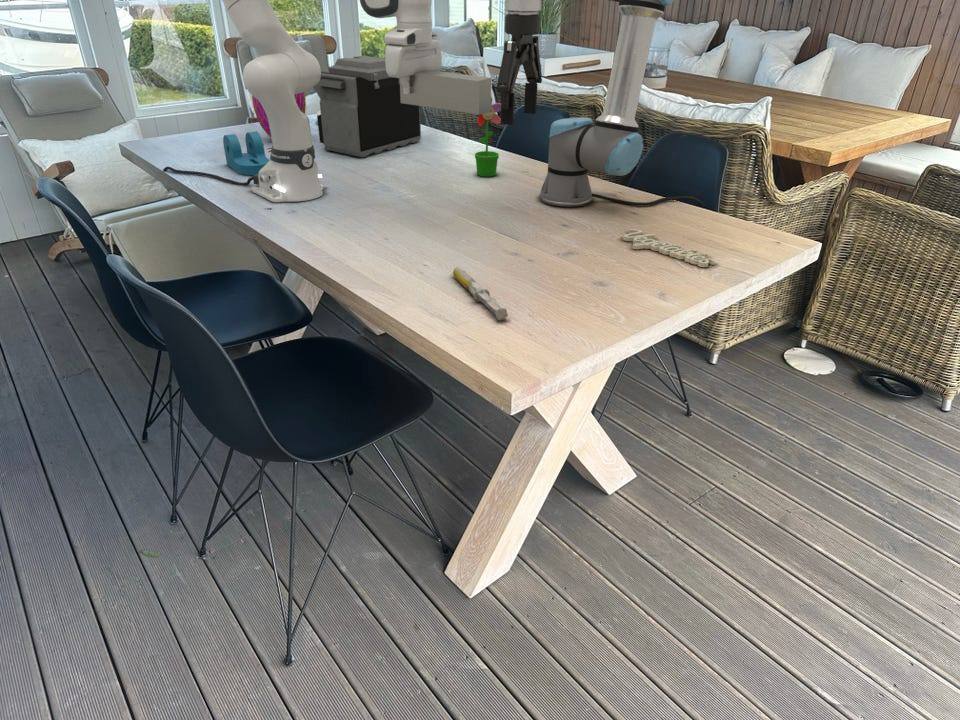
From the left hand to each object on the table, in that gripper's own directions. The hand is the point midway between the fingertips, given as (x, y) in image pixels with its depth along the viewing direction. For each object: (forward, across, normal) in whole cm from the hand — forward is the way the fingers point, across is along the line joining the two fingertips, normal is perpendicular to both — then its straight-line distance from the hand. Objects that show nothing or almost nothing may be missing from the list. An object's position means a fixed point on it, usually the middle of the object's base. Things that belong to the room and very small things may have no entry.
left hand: (415, 91), depth 181 cm
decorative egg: (+32, -37, -90) cm, 103 cm away
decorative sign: (+30, -4, +71) cm, 77 cm away
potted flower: (+31, -39, 0) cm, 50 cm away
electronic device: (+32, -49, -56) cm, 81 cm away
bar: (+3, 0, +9) cm, 10 cm away
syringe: (+30, +43, +46) cm, 70 cm away
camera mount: (+32, -2, -70) cm, 77 cm away
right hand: (0, +14, +38) cm, 41 cm away
